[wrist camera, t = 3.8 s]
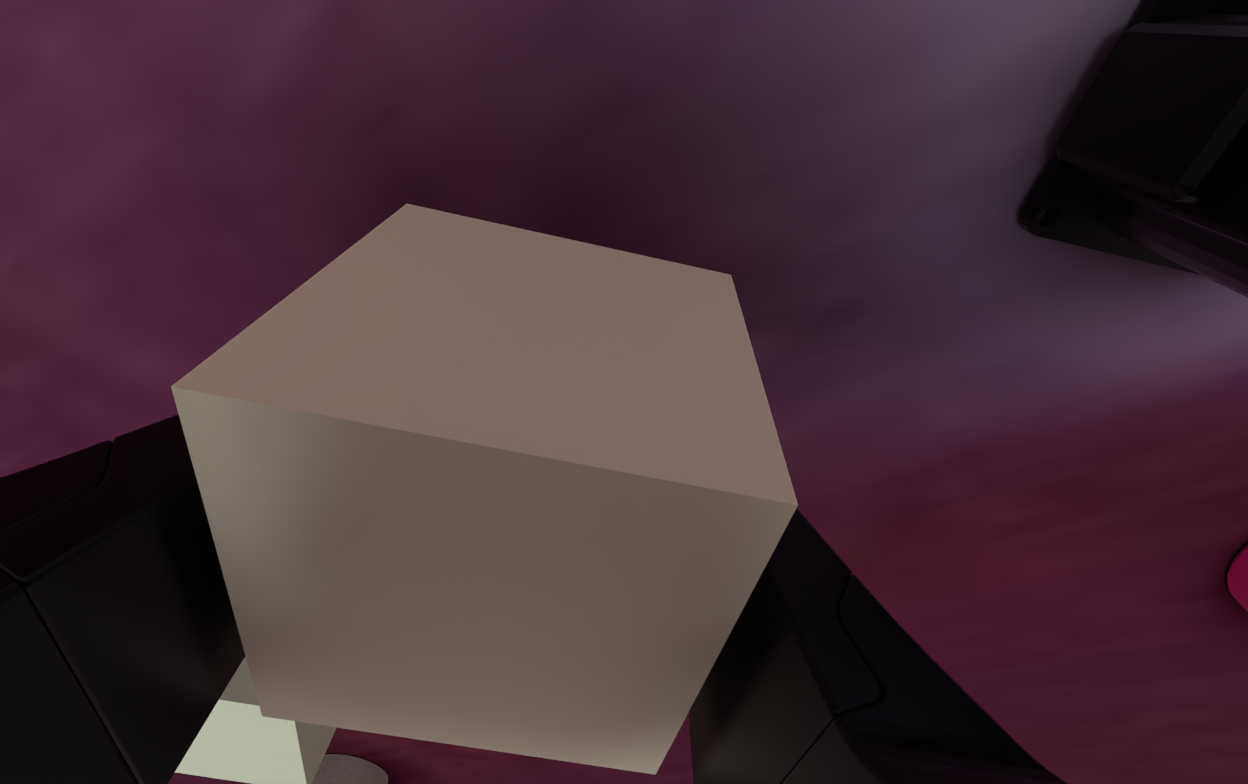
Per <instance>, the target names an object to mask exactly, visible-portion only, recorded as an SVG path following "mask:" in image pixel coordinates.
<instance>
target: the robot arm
mask: <svg viewBox="0 0 1248 784" xmlns="http://www.w3.org/2000/svg"><path fill="white" fill-rule="evenodd" d="M1056 149H1057V150H1056V152H1055V153H1054V155H1053V157H1052V158H1051V160H1050V162H1049V163H1048V165H1047V167H1046V168H1045V170H1044V172H1043V173H1042V175H1041V177H1040V178H1039V180H1038V182H1037V184H1036V185H1035V187H1034V189H1033V190H1032V192H1031V194H1030V195H1029V197H1028V199H1027V200H1026V202H1025V204H1024V205H1023V207H1022V209H1021V211H1020V214H1019V223H1020V225H1021V227H1022V228H1023V229H1025V230H1027V231H1028V232H1030V233H1032V234H1034V235H1036V236H1040V237H1044V238H1048V239H1052V240H1057V241H1061V242H1065V243H1069V244H1074V245H1078V246H1082V247H1086V248H1090V249H1095V250H1099V251H1103V252H1107V253H1111V254H1116V255H1120V256H1124V257H1128V258H1132V259H1137V260H1141V261H1145V262H1149V263H1154V264H1158V265H1162V266H1166V267H1170V268H1175V269H1179V270H1183V271H1187V272H1191V273H1196V274H1200V275H1203V276H1205V277H1207V278H1209V279H1211V280H1213V281H1215V282H1217V283H1219V284H1221V285H1223V286H1225V287H1227V288H1229V289H1231V290H1233V291H1235V292H1237V293H1240V294H1242V295H1244V296H1246V297H1248V0H1146V1H1145V2H1144V4H1143V6H1142V7H1141V9H1140V11H1139V12H1138V14H1137V16H1136V17H1135V19H1134V21H1133V22H1132V24H1131V26H1130V27H1129V29H1128V30H1127V31H1126V32H1124V33H1123V34H1122V35H1121V36H1120V38H1119V40H1118V41H1117V43H1116V45H1115V46H1114V48H1113V50H1112V52H1111V53H1110V55H1109V57H1108V58H1107V60H1106V62H1105V63H1104V65H1103V67H1102V68H1101V70H1100V72H1099V73H1098V75H1097V77H1096V79H1095V80H1094V82H1093V84H1092V85H1091V87H1090V89H1089V90H1088V92H1087V94H1086V95H1085V97H1084V99H1083V100H1082V102H1081V104H1080V105H1079V107H1078V109H1077V111H1076V112H1075V114H1074V116H1073V117H1072V119H1071V121H1070V122H1069V124H1068V126H1067V127H1066V129H1065V131H1064V132H1063V134H1062V136H1061V138H1060V139H1059V141H1058V143H1057V145H1056ZM1048 207H1050V211H1049V214H1048V216H1047V217H1046V218H1045V219H1044V220H1042V221H1040V222H1037V218H1038V215H1039V214H1040V213H1041V212H1042V211H1043V210H1044V209H1046V208H1048ZM244 658H245V653H244V649H243V645H242V642H241V638H240V634H239V631H238V627H237V624H236V620H235V616H234V613H233V609H232V606H231V602H230V598H229V595H228V591H227V587H226V584H225V580H224V577H223V573H222V569H221V566H220V562H219V558H218V555H217V551H216V548H215V544H214V540H213V537H212V533H211V530H210V526H209V522H208V519H207V515H206V511H205V508H204V504H203V501H202V497H201V493H200V490H199V486H198V482H197V479H196V475H195V472H194V468H193V464H192V461H191V457H190V454H189V450H188V446H187V443H186V439H185V435H184V432H183V428H182V425H181V421H180V417H179V414H178V415H175V416H173V417H170V418H167V419H164V420H162V421H159V422H156V423H153V424H151V425H148V426H145V427H143V428H140V429H137V430H134V431H132V432H129V433H126V434H123V435H121V436H118V437H116V438H114V440H113V442H112V441H110V440H107V441H104V442H101V443H99V444H96V445H93V446H91V447H88V448H85V449H82V450H80V451H77V452H74V453H71V454H68V455H66V456H63V457H60V458H57V459H54V460H51V461H48V462H46V463H43V464H40V465H37V466H34V467H31V468H28V469H26V470H23V471H20V472H17V473H14V474H11V475H7V476H4V477H1V478H0V784H168V783H169V781H170V779H171V778H172V776H173V774H174V773H175V771H176V769H177V768H178V766H179V765H180V763H181V761H182V760H183V758H184V756H185V755H186V753H187V751H188V750H189V748H190V746H191V745H192V743H193V741H194V740H195V738H196V737H197V735H198V733H199V732H200V730H201V728H202V727H203V725H204V723H205V722H206V720H207V718H208V717H209V715H210V714H211V712H212V710H213V709H214V707H215V705H216V704H217V702H218V700H219V699H220V697H221V695H222V694H223V692H224V690H225V689H226V687H227V686H228V684H229V682H230V681H231V679H232V677H233V676H234V674H235V672H236V671H237V669H238V667H239V666H240V664H241V662H242V661H243V659H244ZM689 722H690V736H691V751H692V765H693V779H694V784H1067V783H1066V782H1064V781H1063V780H1061V779H1060V778H1058V777H1057V776H1056V775H1054V774H1053V773H1051V772H1050V771H1049V770H1047V769H1046V768H1045V767H1044V766H1042V765H1041V764H1040V763H1039V762H1037V761H1036V760H1035V759H1034V758H1032V757H1031V756H1030V755H1029V754H1028V753H1027V752H1026V751H1025V750H1024V749H1023V748H1022V747H1021V746H1020V745H1018V744H1017V743H1016V742H1015V741H1014V740H1013V739H1012V738H1011V737H1010V736H1009V735H1008V734H1007V733H1006V732H1005V731H1004V730H1003V729H1002V728H1001V727H1000V726H999V725H998V724H997V723H996V722H995V721H994V720H993V719H992V718H991V717H990V716H989V715H988V714H987V713H986V712H985V711H984V710H983V709H982V708H981V707H980V706H979V705H978V704H977V703H976V702H975V701H974V700H973V699H972V698H971V697H970V696H969V695H968V694H967V693H966V692H965V691H964V690H963V689H962V688H961V687H960V686H959V685H958V684H957V683H956V682H955V681H954V680H953V679H952V678H951V677H950V676H949V675H948V674H947V673H946V672H945V671H944V670H943V669H942V668H941V667H940V666H939V665H938V664H937V663H936V662H935V661H934V660H933V659H932V658H931V657H930V656H929V655H928V654H927V653H926V652H925V651H924V650H923V649H922V648H921V647H920V646H919V645H918V644H917V643H916V642H915V641H914V640H913V639H912V638H911V636H910V635H909V634H908V633H907V632H906V631H905V630H904V629H903V628H902V627H901V626H900V625H899V624H898V623H897V622H896V621H895V620H894V618H893V617H892V616H891V615H890V614H889V613H888V612H887V611H886V610H885V609H884V607H883V606H882V605H881V604H880V603H879V602H878V601H877V600H876V599H875V597H874V596H873V595H872V594H871V593H870V592H869V591H868V589H867V588H866V587H865V586H864V585H863V584H862V583H861V581H860V580H859V579H858V578H857V577H856V576H855V575H851V570H850V569H849V568H848V567H847V566H846V564H845V563H844V562H843V561H842V560H841V559H840V557H839V556H838V555H837V554H836V553H835V552H834V550H833V549H832V548H831V547H830V546H829V545H828V544H827V542H826V541H825V540H824V539H823V538H822V537H821V535H820V534H819V533H818V532H817V531H816V530H815V529H814V527H813V526H812V525H811V524H810V523H809V522H808V520H807V519H806V518H805V517H804V516H803V515H802V514H801V512H800V511H799V510H798V509H797V508H796V510H795V512H794V514H793V516H792V518H791V519H790V521H789V523H788V525H787V527H786V529H785V531H784V533H783V535H782V536H781V538H780V540H779V542H778V544H777V546H776V548H775V550H774V552H773V553H772V555H771V557H770V559H769V561H768V563H767V565H766V567H765V569H764V570H763V572H762V574H761V576H760V578H759V580H758V582H757V584H756V586H755V587H754V589H753V591H752V593H751V595H750V597H749V599H748V601H747V603H746V604H745V606H744V608H743V610H742V612H741V614H740V616H739V618H738V620H737V621H736V623H735V625H734V627H733V629H732V631H731V633H730V635H729V637H728V638H727V640H726V642H725V644H724V646H723V648H722V650H721V652H720V654H719V656H718V657H717V659H716V661H715V663H714V665H713V667H712V669H711V671H710V673H709V674H708V676H707V678H706V680H705V682H704V684H703V686H702V688H701V690H700V691H699V693H698V695H697V697H696V699H695V701H694V703H693V705H692V707H691V708H690V710H689Z"/></svg>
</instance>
